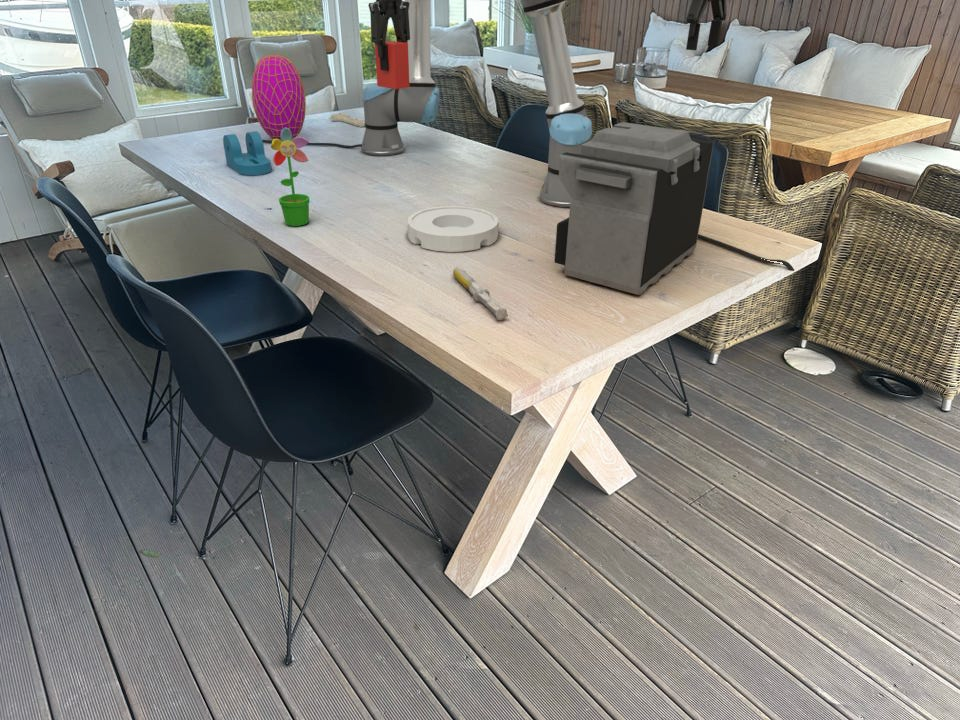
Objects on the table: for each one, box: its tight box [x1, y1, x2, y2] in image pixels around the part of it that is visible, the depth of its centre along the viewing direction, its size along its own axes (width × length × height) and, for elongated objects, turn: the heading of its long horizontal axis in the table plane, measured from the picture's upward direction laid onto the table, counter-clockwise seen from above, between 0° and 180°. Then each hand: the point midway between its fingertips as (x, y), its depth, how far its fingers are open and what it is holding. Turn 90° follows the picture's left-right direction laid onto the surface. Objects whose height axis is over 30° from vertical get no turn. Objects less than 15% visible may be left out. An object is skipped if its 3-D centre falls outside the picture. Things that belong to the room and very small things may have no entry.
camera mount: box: [222, 131, 272, 176], centre depth 226 cm, size 18×10×10 cm, turn 35°
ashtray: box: [407, 205, 499, 253], centre depth 175 cm, size 23×23×4 cm
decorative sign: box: [330, 112, 365, 128], centre depth 295 cm, size 26×1×10 cm
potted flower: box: [270, 128, 310, 227], centre depth 177 cm, size 9×8×25 cm
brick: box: [374, 40, 410, 89], centre depth 197 cm, size 6×8×12 cm
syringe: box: [452, 266, 509, 321], centre depth 145 cm, size 25×4×3 cm, turn 21°
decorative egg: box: [251, 54, 307, 141], centre depth 257 cm, size 19×19×30 cm
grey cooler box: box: [554, 121, 715, 296], centre depth 154 cm, size 37×22×30 cm, turn 144°
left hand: (392, 68), depth 198 cm, fingers closed on brick, 6 cm apart
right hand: (702, 48), depth 191 cm, fingers open, 13 cm apart
